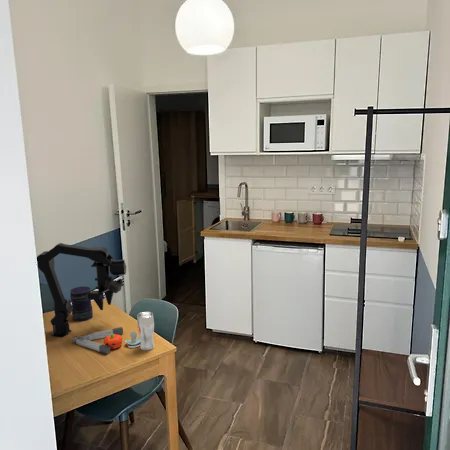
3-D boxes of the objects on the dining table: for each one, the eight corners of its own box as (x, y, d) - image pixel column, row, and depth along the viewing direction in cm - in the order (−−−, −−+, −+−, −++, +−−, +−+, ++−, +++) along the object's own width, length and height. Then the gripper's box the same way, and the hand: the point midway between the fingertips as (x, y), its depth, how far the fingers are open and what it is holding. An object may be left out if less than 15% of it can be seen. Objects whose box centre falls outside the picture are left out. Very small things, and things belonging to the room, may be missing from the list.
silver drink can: (151, 351, 174) (149, 318, 171) (136, 350, 176) (134, 317, 173) (157, 343, 181) (155, 311, 178) (142, 342, 182) (140, 310, 179)
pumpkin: (125, 348, 179) (125, 335, 177) (107, 353, 175) (106, 340, 173) (119, 340, 185) (118, 327, 183) (101, 345, 180) (100, 332, 178)
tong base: (72, 342, 183) (71, 336, 183) (75, 341, 185) (75, 335, 184) (106, 355, 172) (106, 348, 172) (110, 352, 174) (110, 346, 173)
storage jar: (88, 312, 217) (85, 285, 214) (96, 317, 210) (94, 289, 207) (69, 317, 210) (66, 289, 207) (77, 323, 203) (74, 294, 200)
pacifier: (144, 346, 179) (140, 340, 185) (144, 333, 178) (140, 327, 183) (127, 350, 176) (124, 344, 182) (127, 337, 175) (123, 331, 180)
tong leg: (79, 342, 183) (79, 336, 183) (79, 340, 185) (78, 334, 185) (123, 334, 191) (122, 328, 190) (122, 332, 192) (122, 326, 192)
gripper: (107, 283, 178) (109, 317, 181) (129, 270, 195) (131, 301, 198) (85, 281, 181) (87, 314, 184) (108, 268, 198) (110, 299, 201)
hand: (105, 307), depth 192 cm, fingers open, 6 cm apart
